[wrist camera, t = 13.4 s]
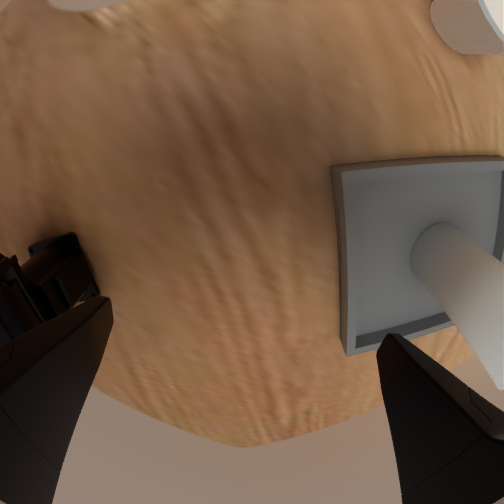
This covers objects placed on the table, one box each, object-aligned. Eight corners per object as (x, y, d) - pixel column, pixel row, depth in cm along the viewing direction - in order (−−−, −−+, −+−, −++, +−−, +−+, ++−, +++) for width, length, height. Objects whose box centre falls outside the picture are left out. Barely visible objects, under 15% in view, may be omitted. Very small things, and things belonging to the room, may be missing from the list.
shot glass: (487, 67, 14) (541, 66, 8) (434, 55, 14) (492, 44, 8) (469, 3, 11) (516, -11, 5) (413, -15, 12) (459, -42, 5)
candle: (408, 287, 22) (484, 402, 10) (412, 228, 20) (522, 337, 8) (455, 273, 22) (536, 367, 10) (462, 217, 19) (569, 303, 8)
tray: (339, 338, 26) (346, 356, 23) (330, 166, 19) (341, 172, 17) (480, 297, 24) (491, 309, 22) (499, 155, 18) (517, 161, 15)
